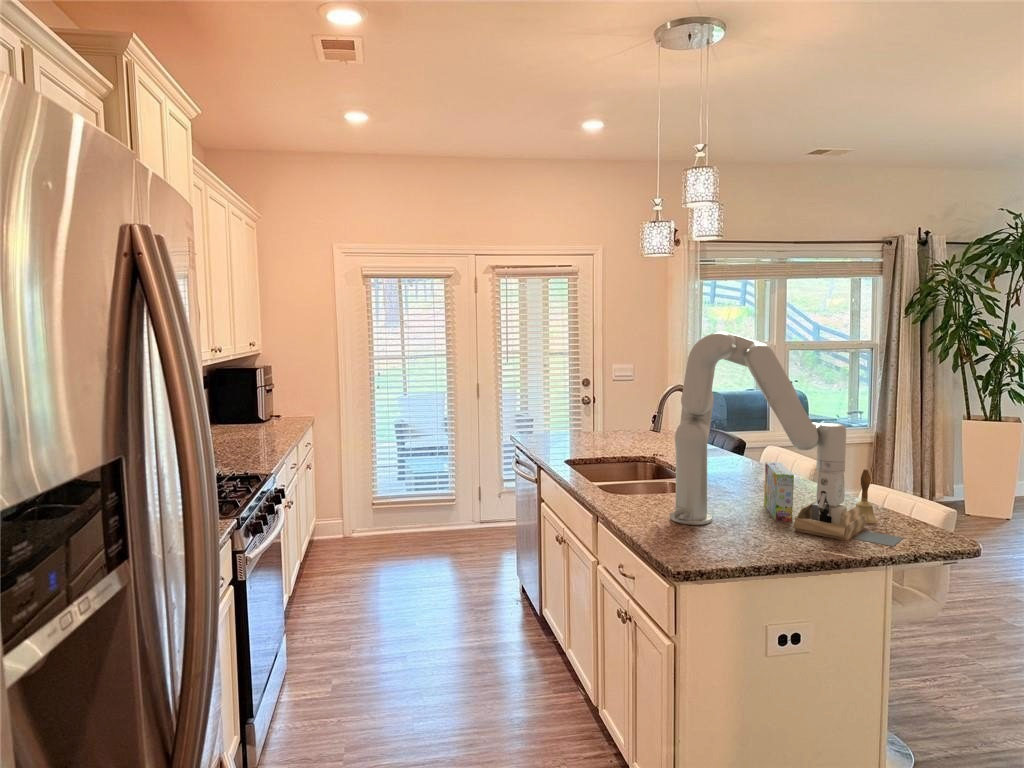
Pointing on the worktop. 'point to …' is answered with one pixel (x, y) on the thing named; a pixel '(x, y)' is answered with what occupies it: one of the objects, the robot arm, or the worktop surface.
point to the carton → (830, 524)
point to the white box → (835, 513)
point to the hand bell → (864, 504)
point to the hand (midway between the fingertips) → (828, 526)
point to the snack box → (778, 491)
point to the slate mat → (879, 538)
